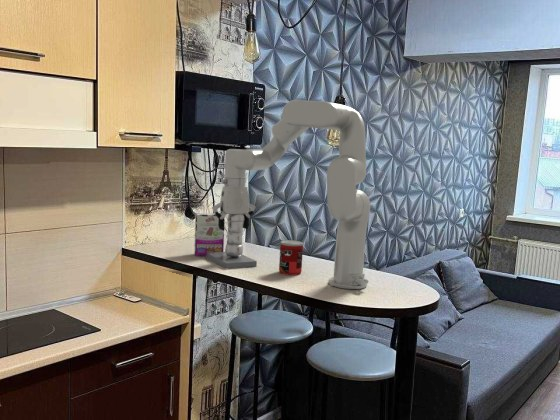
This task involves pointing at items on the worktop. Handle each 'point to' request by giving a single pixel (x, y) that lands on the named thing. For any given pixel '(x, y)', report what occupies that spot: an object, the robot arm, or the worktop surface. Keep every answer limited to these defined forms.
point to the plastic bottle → (235, 235)
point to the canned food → (291, 257)
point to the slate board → (231, 260)
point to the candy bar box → (208, 234)
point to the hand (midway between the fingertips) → (233, 229)
